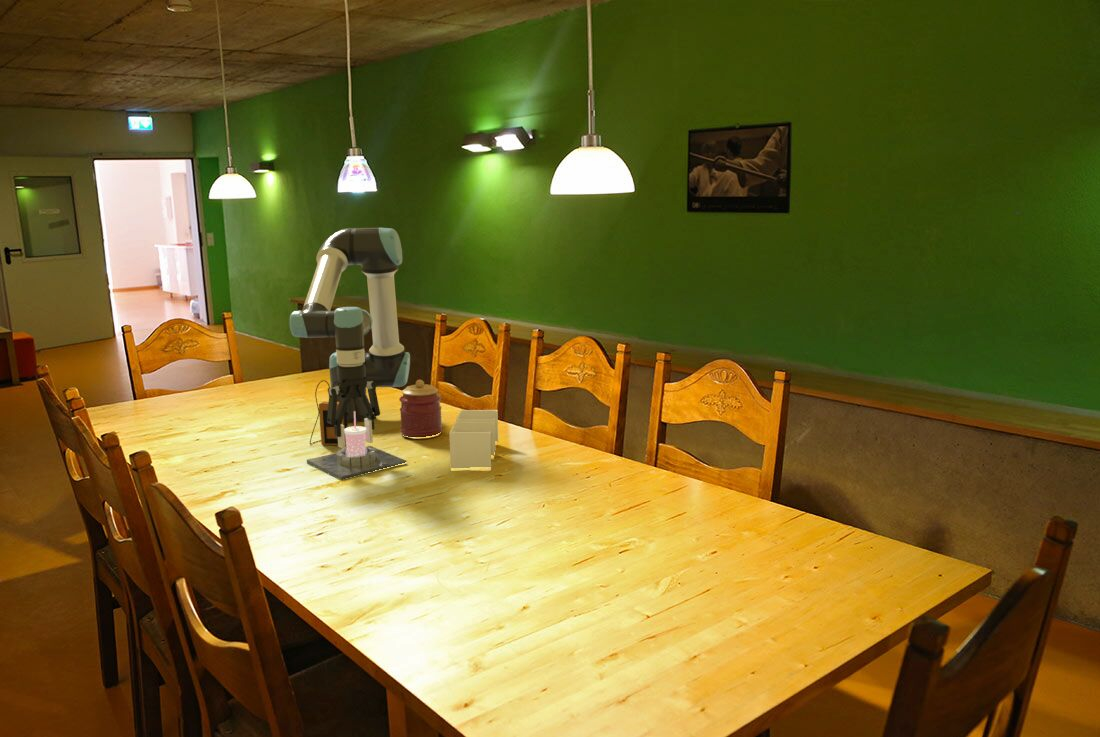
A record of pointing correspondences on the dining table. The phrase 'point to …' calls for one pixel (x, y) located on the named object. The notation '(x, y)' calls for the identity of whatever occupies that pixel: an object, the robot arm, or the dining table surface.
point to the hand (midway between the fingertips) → (355, 444)
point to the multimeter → (326, 428)
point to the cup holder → (355, 462)
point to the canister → (420, 410)
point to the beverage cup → (355, 439)
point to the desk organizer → (473, 438)
